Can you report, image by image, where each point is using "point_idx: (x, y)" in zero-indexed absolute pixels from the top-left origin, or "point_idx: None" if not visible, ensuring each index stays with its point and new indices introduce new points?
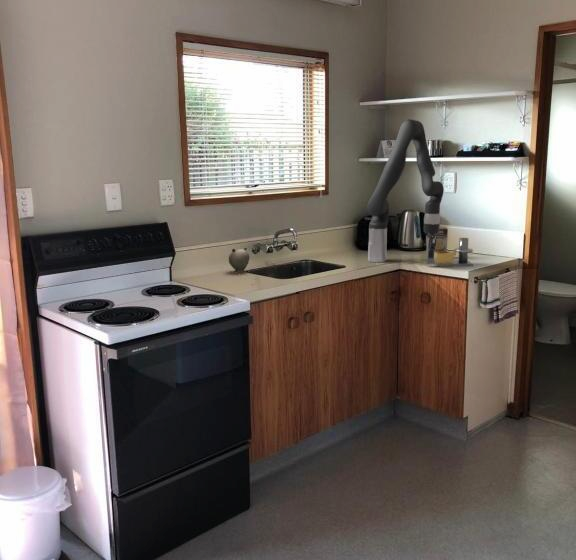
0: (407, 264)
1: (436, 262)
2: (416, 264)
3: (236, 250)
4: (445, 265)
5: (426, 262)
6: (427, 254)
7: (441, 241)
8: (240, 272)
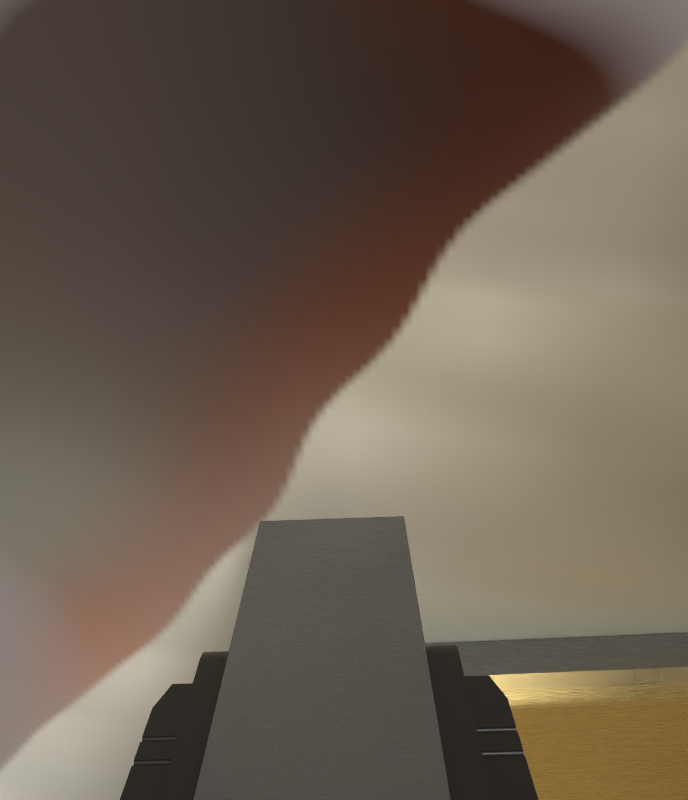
0: (658, 100)
1: None
2: (618, 322)
3: None
4: None
5: (360, 526)
6: (265, 684)
7: None
8: None
